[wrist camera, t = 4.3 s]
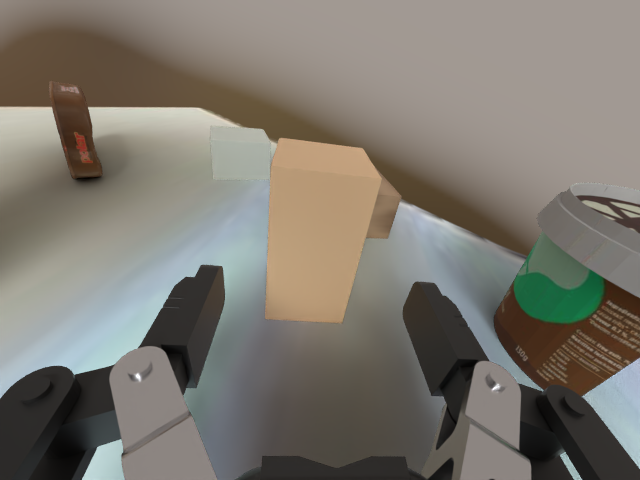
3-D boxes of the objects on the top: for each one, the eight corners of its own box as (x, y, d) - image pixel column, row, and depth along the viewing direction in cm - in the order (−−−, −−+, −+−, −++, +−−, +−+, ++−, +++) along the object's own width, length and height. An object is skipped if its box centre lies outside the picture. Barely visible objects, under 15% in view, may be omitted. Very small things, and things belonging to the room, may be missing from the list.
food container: (500, 272, 25) (569, 168, 20) (581, 312, 22) (689, 201, 17) (449, 346, 17) (540, 207, 12) (563, 427, 14) (760, 286, 9)
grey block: (213, 180, 34) (210, 139, 31) (213, 162, 39) (210, 125, 37) (269, 181, 36) (270, 143, 33) (262, 163, 42) (262, 129, 39)
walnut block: (289, 237, 26) (293, 189, 23) (284, 193, 34) (287, 153, 31) (386, 240, 28) (401, 196, 25) (360, 198, 36) (369, 161, 33)
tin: (69, 147, 36) (42, 74, 32) (98, 146, 38) (77, 77, 33) (74, 192, 27) (38, 98, 22) (113, 187, 29) (86, 100, 24)
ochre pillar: (265, 319, 17) (270, 165, 12) (272, 268, 21) (279, 137, 16) (342, 323, 18) (381, 178, 12) (335, 273, 22) (362, 148, 16)
